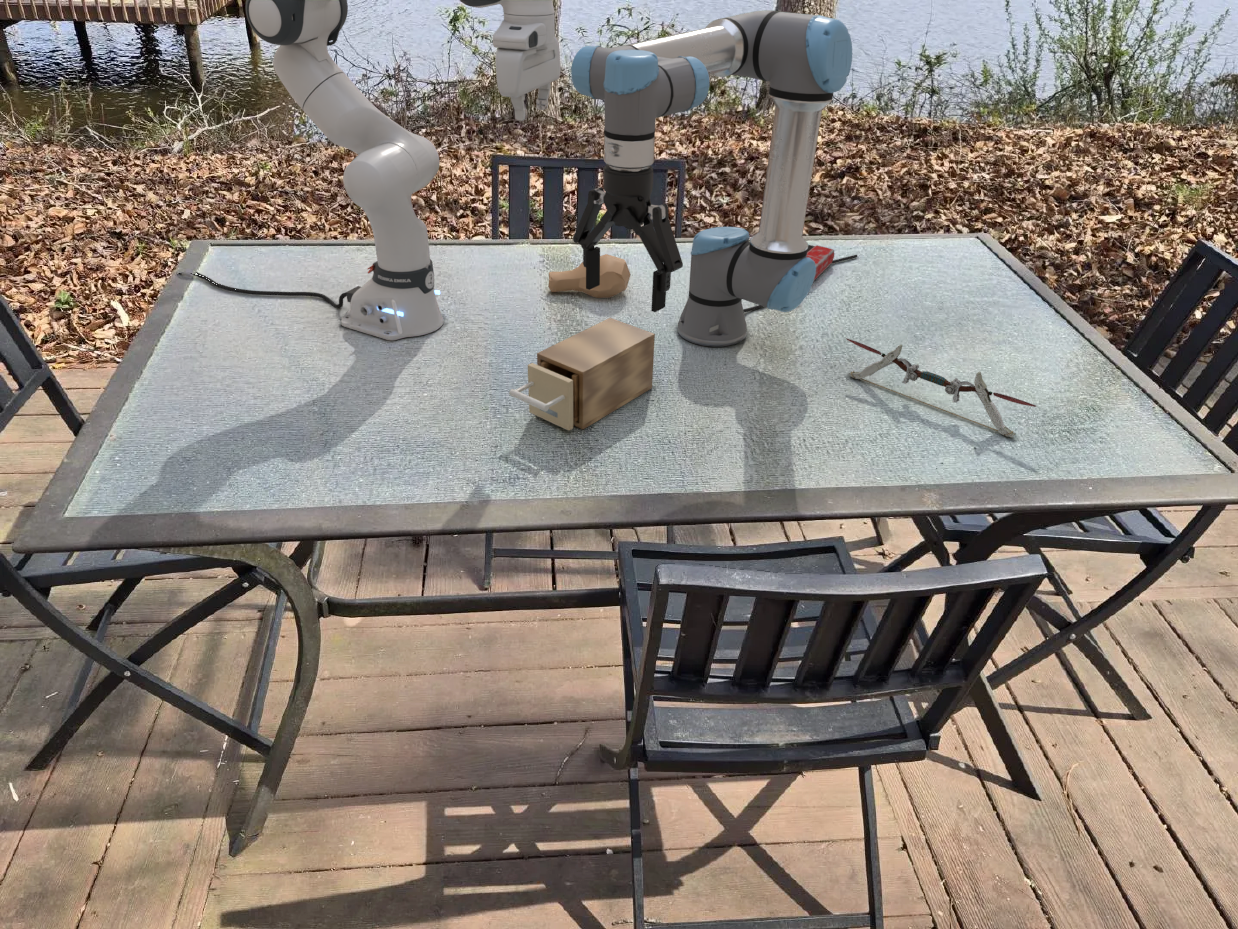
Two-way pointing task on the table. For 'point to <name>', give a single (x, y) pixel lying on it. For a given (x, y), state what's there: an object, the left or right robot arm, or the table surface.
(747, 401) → the table surface
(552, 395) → the drawer
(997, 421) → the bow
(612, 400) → the cabinet
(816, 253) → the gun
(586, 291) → the squash
